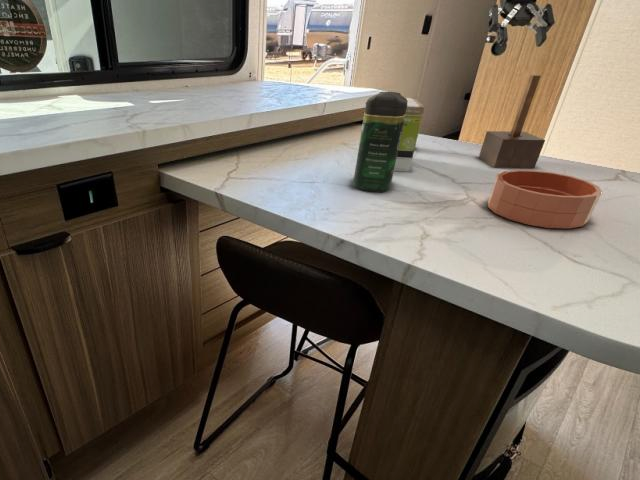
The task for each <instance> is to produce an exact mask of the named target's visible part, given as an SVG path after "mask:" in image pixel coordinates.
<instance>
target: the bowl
mask: <svg viewBox="0 0 640 480" xmlns="http://www.w3.org/2000/svg"><path fill="white" fill-rule="evenodd" d="M602 193H603V190H602V189H601V187H600V185H597V184H595V183H593V182H591V181H588V180H586V179H583V178H579V177H576V176H573V175H569V174H563V173H558V172H552V171H543V170H534V169H533V170H532V169H514V170H513V169H512V170H506V171H502V172H500V173H497V175H496V178H495V180H494V184H493V186H492V190H491V192H490V194H489V197H488V200H487V208H488V209H489V210H490V211H492V212H493V213H494V214H496V215H498V216H500V217H502V218H505V219H507V220H509V221H513V222H516V223H521V224H524V225H528V226H534V227H540V228H546V229H567V230H569V229H574V228H575V229H576V228H580V227H584V226H585V225H586V224H587V223H589V221H590V219H591V216H592V214H593V212H594V211H595V208H596V206H597V204H598V202H599V200H600V198H601V196H602Z"/></svg>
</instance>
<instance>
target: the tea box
mask: <svg viewBox="0 0 640 480" xmlns="http://www.w3.org/2000/svg"><path fill="white" fill-rule="evenodd" d="M405 98H406V99H407V109H406V115H405V120H404V126H403V131H402V136H401V140H400V145H399V150H398V154H397V158H396V163H395V167H394V172H410V171H411V167H412V163H413V162H412V161H413V157H414V154H415V149H416V146H417V141H418V136H419V132H420V128H421V124H422V120H423V116H424V112H425V106H424V104H422V103H421V102H420V101H418V100H417V99H416V98H412V97H405Z"/></svg>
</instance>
